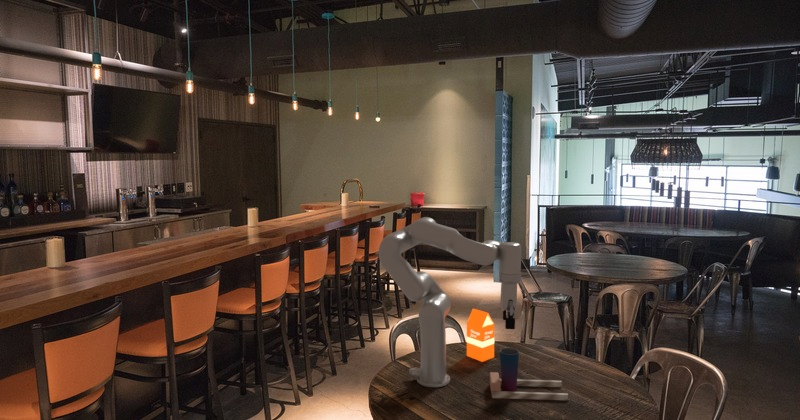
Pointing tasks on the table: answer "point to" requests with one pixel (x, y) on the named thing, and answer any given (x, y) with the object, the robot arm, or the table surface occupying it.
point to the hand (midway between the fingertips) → (508, 324)
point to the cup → (509, 368)
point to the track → (497, 393)
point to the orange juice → (480, 336)
